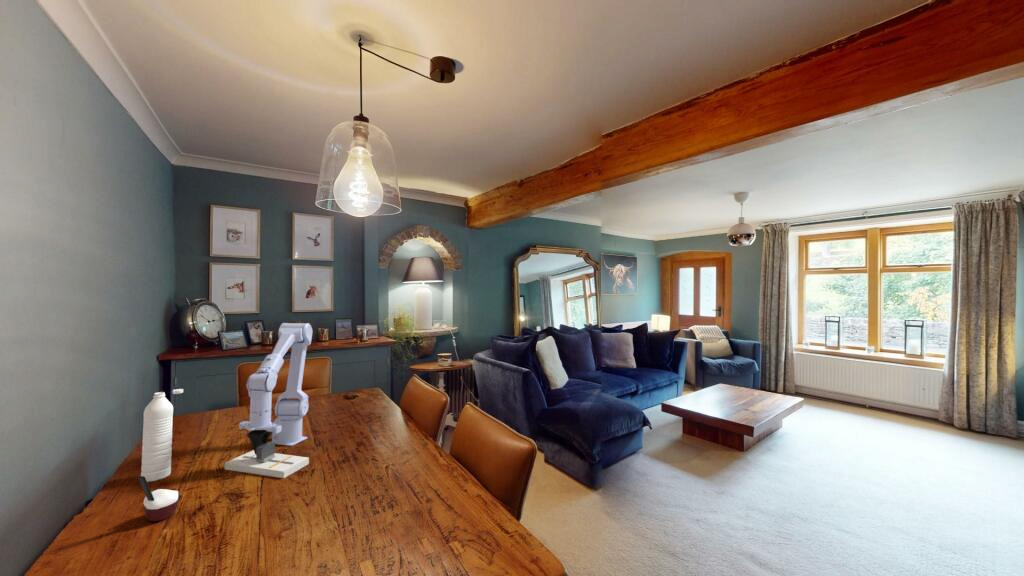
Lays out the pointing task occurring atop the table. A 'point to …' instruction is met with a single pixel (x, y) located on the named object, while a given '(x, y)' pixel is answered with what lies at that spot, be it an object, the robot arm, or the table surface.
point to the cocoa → (159, 502)
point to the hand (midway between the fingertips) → (259, 453)
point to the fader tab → (265, 452)
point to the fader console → (267, 464)
